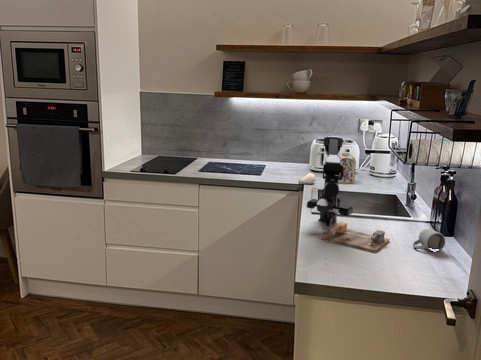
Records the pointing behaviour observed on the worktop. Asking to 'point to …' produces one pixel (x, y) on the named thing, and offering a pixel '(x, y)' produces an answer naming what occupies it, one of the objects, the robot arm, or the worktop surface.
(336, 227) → the block
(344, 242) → the board
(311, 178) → the light bulb
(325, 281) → the worktop surface
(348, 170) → the decorative jar
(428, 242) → the ceramic mug
